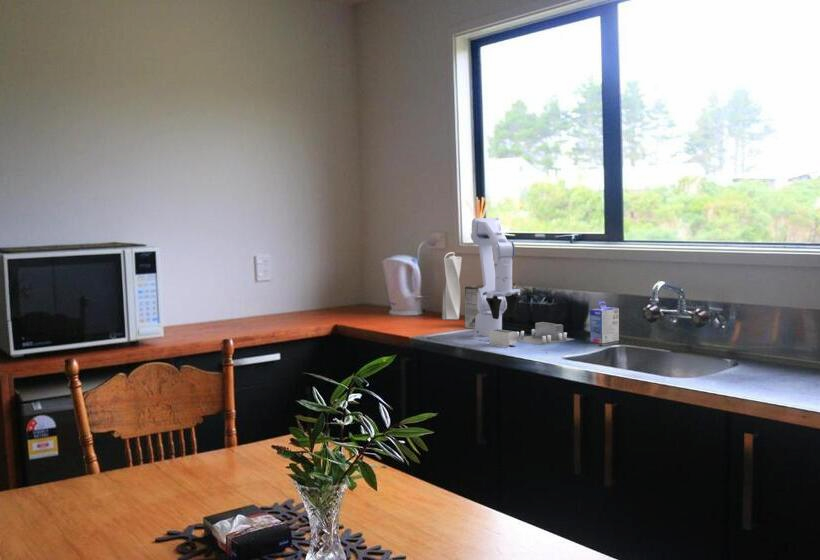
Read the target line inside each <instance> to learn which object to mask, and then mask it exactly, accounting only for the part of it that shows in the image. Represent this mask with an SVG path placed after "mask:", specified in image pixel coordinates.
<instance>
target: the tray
mask: <svg viewBox="0 0 820 560" xmlns="http://www.w3.org/2000/svg"><path fill="white" fill-rule="evenodd" d="M516 332H517V343H518V342H520V343H525V344H532V345H537V346H546V345H552V344H557V343H562V342H567V341H575V340H576V339H575V338H570V337H567V335H568V332H564V331H563V339H562V333H558V340H551V335H547V339H546V336H542V338H537V337H535V328H532V329H531V335H528V336H525V331H524V330H521V331H520V332H519V331H516Z"/></svg>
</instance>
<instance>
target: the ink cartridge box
mask: <svg viewBox="0 0 820 560" xmlns="http://www.w3.org/2000/svg"><path fill="white" fill-rule="evenodd" d="M597 304H598V307H597V308H593V309H590V310H589V327H590V328H589V329H590V331H589V333H590V335H589V336H590V342H591V343H596V344H598V346H600V347H603V346H609V345H614V344H619V342H620V338H619V337H620V335H619V333H620V330H619V329H620V327H619V326H620V323H619V322H620V321H619V319H620V316H619V315H620V312H619V311H620V310H619V309H620V308H619V307H612V306H608V305H607V303H606V302H605V300H603V301H598V302H597ZM601 304H602V305H601Z"/></svg>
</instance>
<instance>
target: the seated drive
mask: <svg viewBox="0 0 820 560" xmlns="http://www.w3.org/2000/svg"><path fill="white" fill-rule="evenodd" d="M534 327H535V328H534V329H535V337H537V338H542V336H546V339H547V335H551V340H558V333H562V339H563V333H564V325H563V324H561V323H559V324H558V323H552V322H544V321H541V322H535V325H534Z"/></svg>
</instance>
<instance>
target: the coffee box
mask: <svg viewBox="0 0 820 560" xmlns="http://www.w3.org/2000/svg"><path fill="white" fill-rule="evenodd" d="M483 287H484V285H483V284H475V285H469V286H465V287H464V290H465V291H464V294H465V295H464V296H465V297H464V305H465V306H464V308H465V309H464V328H465V329H471V330H473V329H474V330H475V318H476V316H477V314H478V313H480V312H479V310H478V308H477V294H478V291H479V290H480V289H481V288H483Z"/></svg>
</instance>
